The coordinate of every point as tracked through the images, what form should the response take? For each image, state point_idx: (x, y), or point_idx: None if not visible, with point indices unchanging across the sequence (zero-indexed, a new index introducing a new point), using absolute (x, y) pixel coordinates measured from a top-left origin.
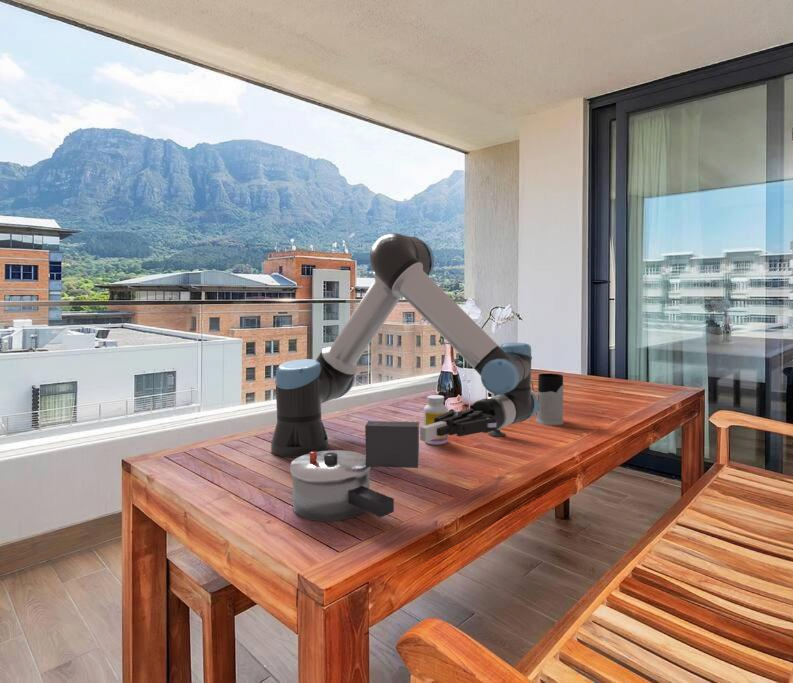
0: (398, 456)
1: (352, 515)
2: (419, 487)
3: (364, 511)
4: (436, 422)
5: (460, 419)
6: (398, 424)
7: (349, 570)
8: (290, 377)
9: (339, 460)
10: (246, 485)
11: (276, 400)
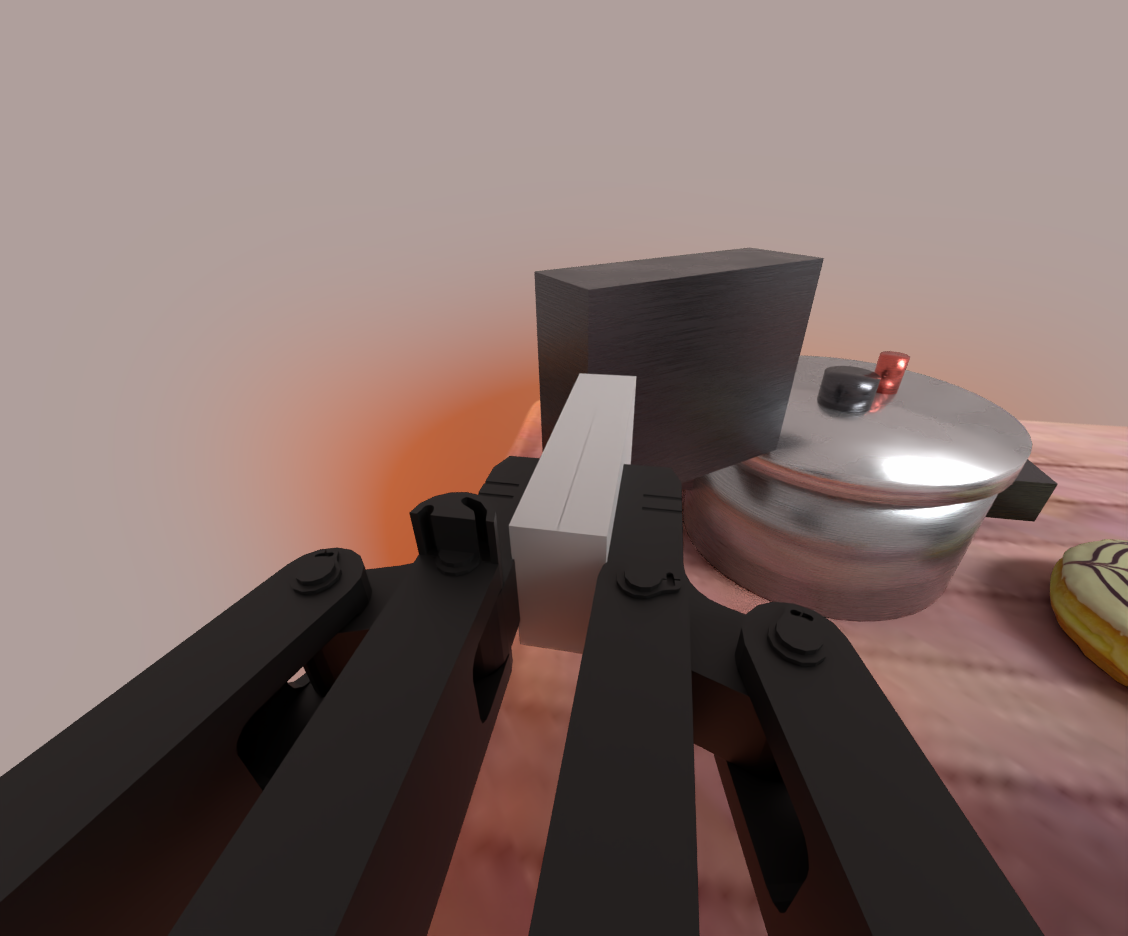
0: None
1: (684, 502)
2: (726, 855)
3: (690, 538)
4: (615, 478)
5: (327, 870)
6: (649, 266)
7: (531, 417)
8: None
9: (851, 418)
10: (1119, 498)
11: None
